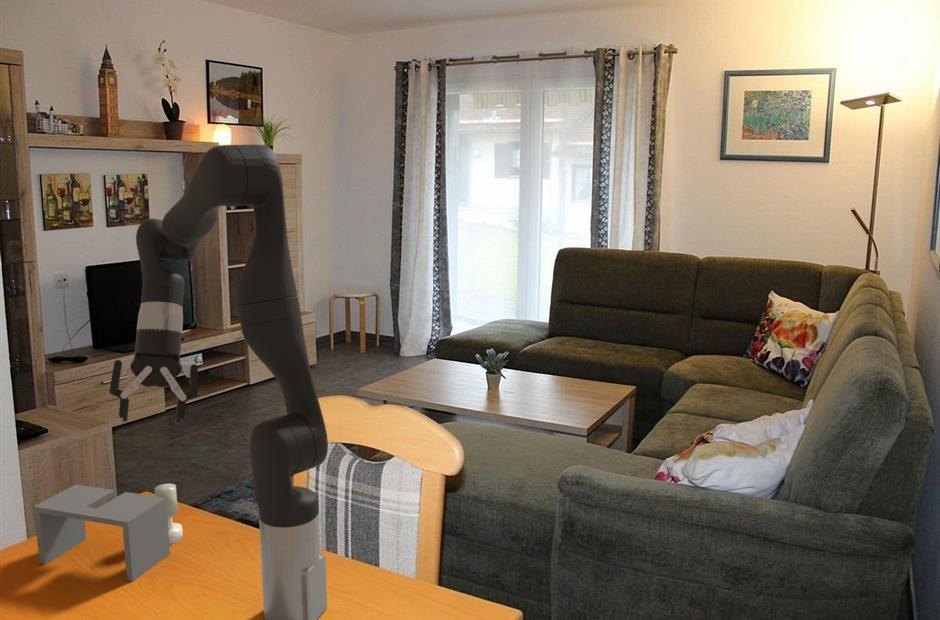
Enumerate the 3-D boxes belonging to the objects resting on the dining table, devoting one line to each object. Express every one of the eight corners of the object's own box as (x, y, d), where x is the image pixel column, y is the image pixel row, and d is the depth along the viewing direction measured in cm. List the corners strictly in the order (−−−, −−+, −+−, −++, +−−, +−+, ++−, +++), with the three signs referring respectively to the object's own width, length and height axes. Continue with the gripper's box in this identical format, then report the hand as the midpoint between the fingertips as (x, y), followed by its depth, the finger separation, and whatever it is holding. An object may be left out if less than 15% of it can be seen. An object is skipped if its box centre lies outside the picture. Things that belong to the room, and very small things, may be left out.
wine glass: (188, 534, 154) (184, 484, 152) (171, 546, 150) (167, 494, 148) (166, 530, 156) (162, 480, 154) (149, 542, 151) (145, 491, 149)
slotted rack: (170, 553, 147) (165, 498, 145) (132, 581, 138) (127, 522, 135) (81, 538, 153) (76, 484, 150) (39, 563, 143) (33, 506, 141)
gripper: (115, 324, 136) (105, 420, 133) (203, 330, 141) (195, 422, 138) (117, 330, 142) (108, 421, 140) (200, 335, 148) (193, 424, 145)
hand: (151, 422), depth 139 cm, fingers open, 8 cm apart
